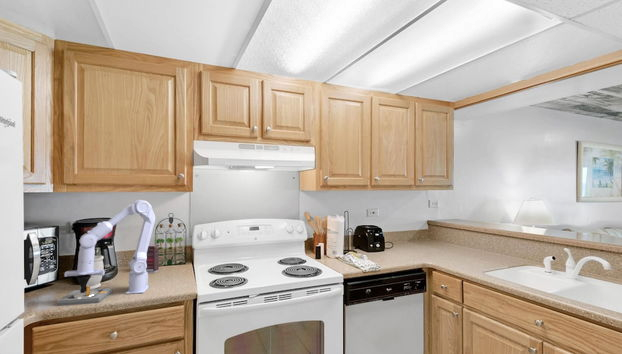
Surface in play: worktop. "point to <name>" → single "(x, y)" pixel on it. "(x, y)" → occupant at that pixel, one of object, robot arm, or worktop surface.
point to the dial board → (71, 300)
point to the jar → (95, 279)
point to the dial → (87, 293)
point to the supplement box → (152, 259)
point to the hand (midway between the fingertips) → (83, 292)
